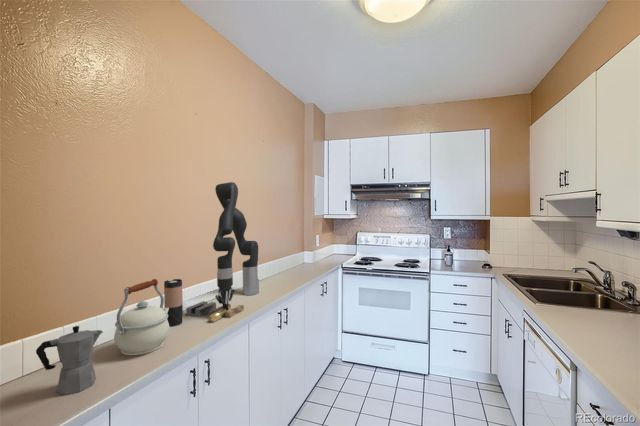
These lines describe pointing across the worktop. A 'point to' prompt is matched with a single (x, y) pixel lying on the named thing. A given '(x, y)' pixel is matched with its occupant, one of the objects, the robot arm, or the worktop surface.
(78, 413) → the worktop surface
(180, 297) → the travel mug
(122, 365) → the worktop surface
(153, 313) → the kettle
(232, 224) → the robot arm
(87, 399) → the worktop surface
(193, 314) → the v block
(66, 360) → the coffeepot
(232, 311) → the parallel bars
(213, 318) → the axle
